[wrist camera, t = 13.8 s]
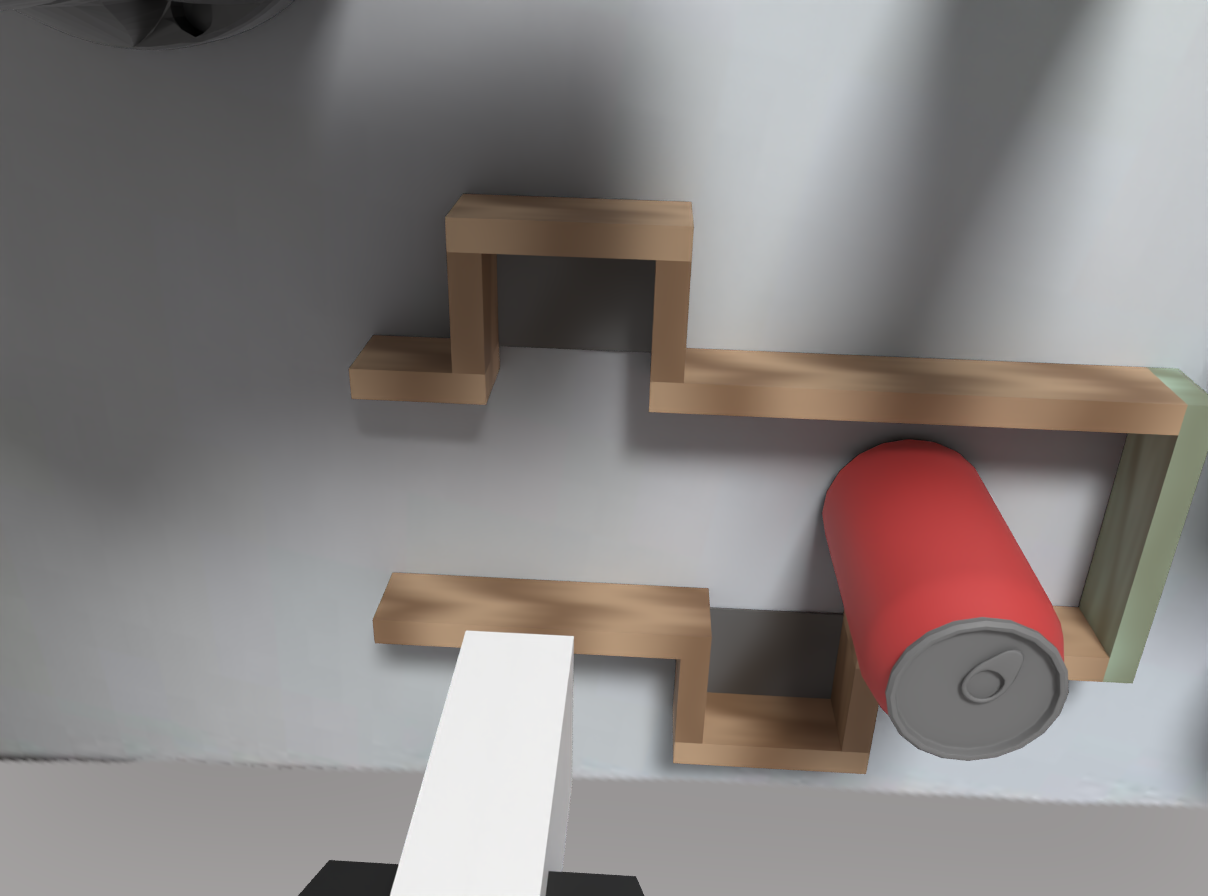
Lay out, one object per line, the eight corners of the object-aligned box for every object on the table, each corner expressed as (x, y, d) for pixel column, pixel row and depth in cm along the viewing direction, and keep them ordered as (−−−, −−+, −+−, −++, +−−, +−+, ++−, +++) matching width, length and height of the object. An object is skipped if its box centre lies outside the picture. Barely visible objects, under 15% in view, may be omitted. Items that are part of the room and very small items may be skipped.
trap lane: (402, 694, 49) (384, 746, 46) (361, 189, 38) (333, 213, 35) (1070, 731, 48) (1098, 787, 44) (1222, 221, 37) (1273, 248, 34)
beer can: (1016, 484, 42) (1134, 675, 31) (910, 594, 45) (986, 804, 34) (889, 403, 41) (967, 572, 30) (787, 521, 43) (827, 715, 33)
